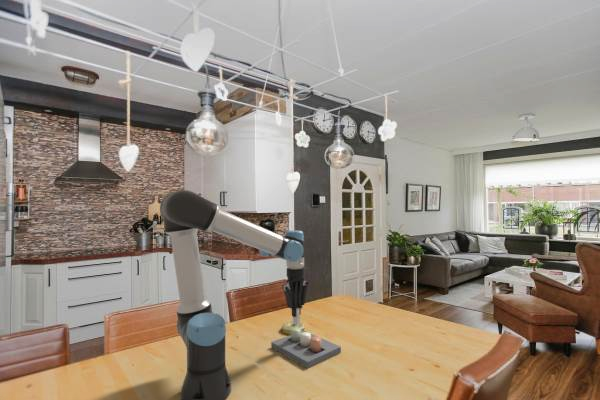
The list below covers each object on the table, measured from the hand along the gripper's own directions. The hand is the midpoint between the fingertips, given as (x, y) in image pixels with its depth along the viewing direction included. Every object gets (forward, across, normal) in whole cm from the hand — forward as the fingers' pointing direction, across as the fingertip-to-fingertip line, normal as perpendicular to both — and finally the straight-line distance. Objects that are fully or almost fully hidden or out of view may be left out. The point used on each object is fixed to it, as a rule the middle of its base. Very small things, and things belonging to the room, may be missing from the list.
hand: (296, 323), depth 130 cm
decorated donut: (+10, +9, +13) cm, 19 cm away
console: (+10, 0, -6) cm, 11 cm away
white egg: (+7, 0, -6) cm, 9 cm away
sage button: (+7, 0, 0) cm, 7 cm away
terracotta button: (+7, 0, -12) cm, 14 cm away
